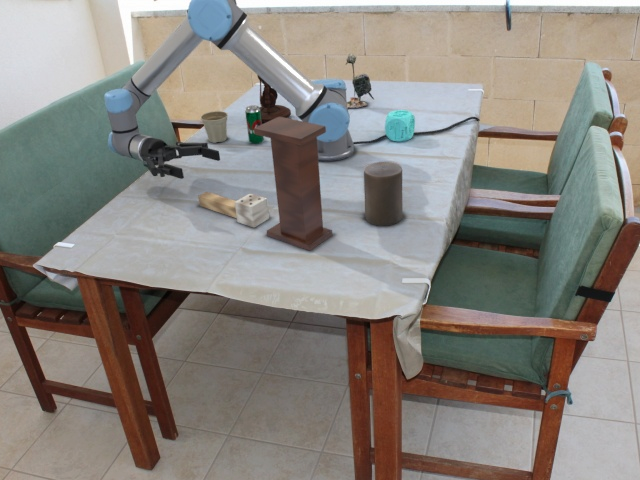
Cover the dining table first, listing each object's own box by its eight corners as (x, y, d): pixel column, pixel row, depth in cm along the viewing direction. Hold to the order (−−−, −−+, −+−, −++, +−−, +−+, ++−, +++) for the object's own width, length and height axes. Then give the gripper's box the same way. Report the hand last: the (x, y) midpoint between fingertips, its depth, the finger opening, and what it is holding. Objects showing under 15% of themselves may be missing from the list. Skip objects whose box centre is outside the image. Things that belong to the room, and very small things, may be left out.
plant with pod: (371, 109, 240) (370, 54, 229) (341, 108, 243) (339, 54, 232) (375, 102, 246) (374, 48, 236) (346, 101, 249) (344, 48, 239)
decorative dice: (384, 140, 213) (384, 117, 208) (391, 132, 219) (391, 109, 215) (408, 142, 210) (408, 119, 206) (414, 133, 216) (415, 110, 212)
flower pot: (226, 145, 218) (222, 120, 214) (200, 144, 220) (196, 120, 216) (234, 135, 226) (231, 111, 222) (209, 134, 228) (205, 111, 224)
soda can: (266, 139, 221) (262, 105, 214) (260, 145, 217) (256, 110, 210) (252, 138, 222) (248, 104, 216) (246, 144, 218) (242, 109, 212)
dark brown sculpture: (253, 113, 245) (247, 60, 234) (292, 111, 244) (287, 57, 233) (249, 127, 232) (242, 71, 221) (289, 125, 231) (284, 68, 221)
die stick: (269, 218, 171) (266, 197, 168) (253, 227, 167) (251, 206, 164) (211, 199, 183) (208, 179, 180) (196, 208, 179) (192, 187, 176)
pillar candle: (392, 229, 162) (391, 174, 154) (358, 221, 167) (356, 167, 159) (408, 212, 169) (409, 159, 161) (375, 205, 174) (374, 153, 166)
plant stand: (332, 235, 162) (325, 126, 146) (310, 251, 156) (300, 138, 141) (289, 221, 169) (279, 116, 154) (266, 236, 163) (253, 128, 148)
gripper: (184, 147, 196) (234, 161, 184) (117, 177, 180) (168, 194, 168) (180, 124, 192) (231, 136, 180) (111, 152, 176) (162, 168, 164)
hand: (200, 164), depth 174 cm, fingers open, 13 cm apart
